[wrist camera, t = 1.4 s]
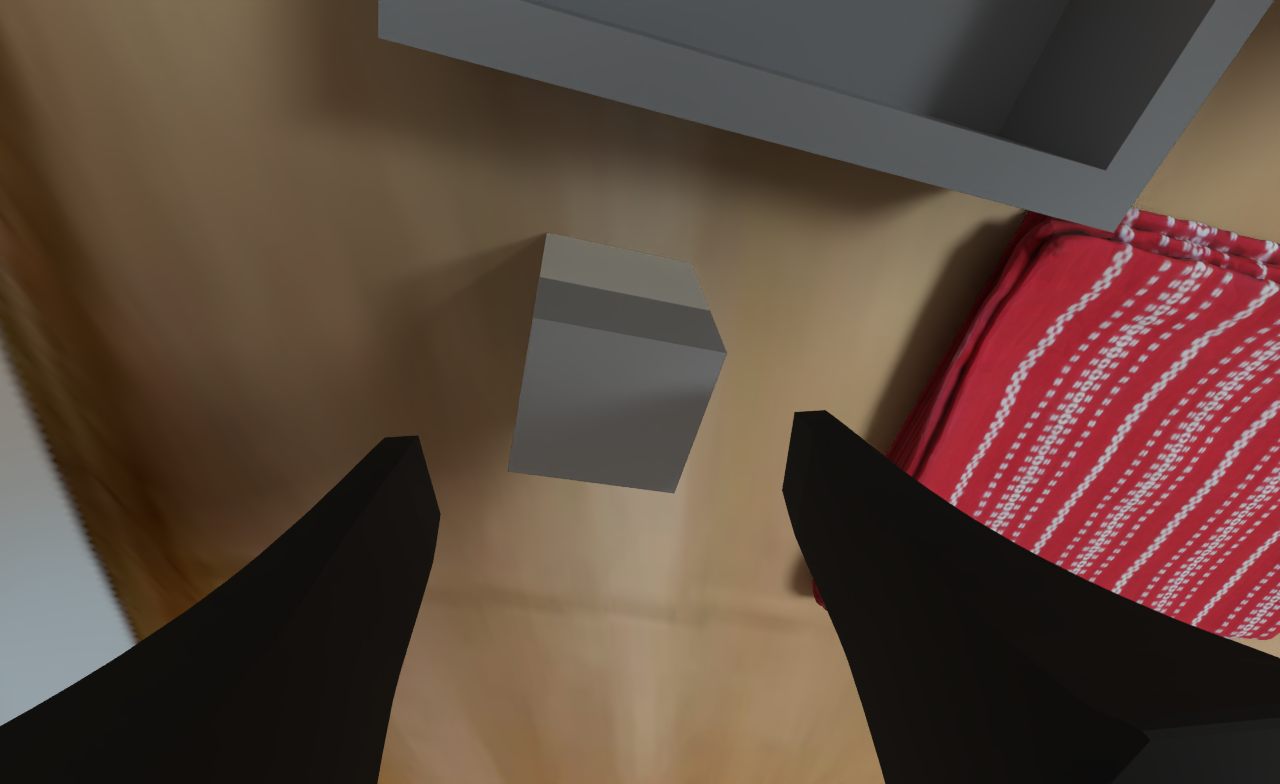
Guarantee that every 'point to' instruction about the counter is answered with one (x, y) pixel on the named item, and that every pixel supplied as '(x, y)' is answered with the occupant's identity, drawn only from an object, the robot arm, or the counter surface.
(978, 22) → the box
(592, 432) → the grey block
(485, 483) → the counter surface
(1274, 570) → the dish towel
